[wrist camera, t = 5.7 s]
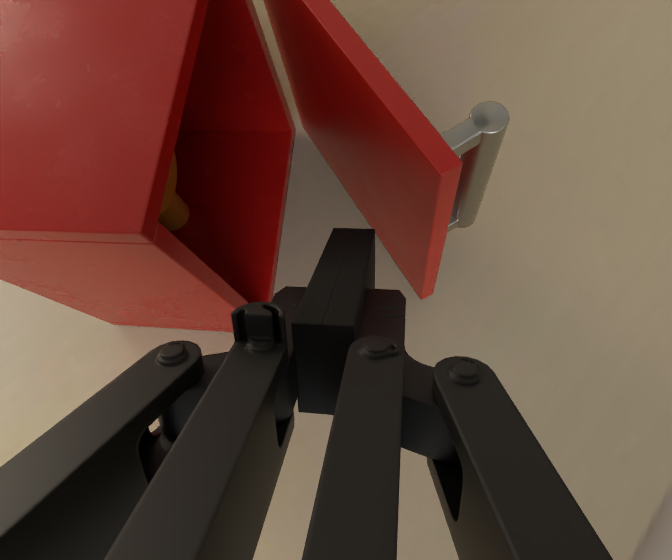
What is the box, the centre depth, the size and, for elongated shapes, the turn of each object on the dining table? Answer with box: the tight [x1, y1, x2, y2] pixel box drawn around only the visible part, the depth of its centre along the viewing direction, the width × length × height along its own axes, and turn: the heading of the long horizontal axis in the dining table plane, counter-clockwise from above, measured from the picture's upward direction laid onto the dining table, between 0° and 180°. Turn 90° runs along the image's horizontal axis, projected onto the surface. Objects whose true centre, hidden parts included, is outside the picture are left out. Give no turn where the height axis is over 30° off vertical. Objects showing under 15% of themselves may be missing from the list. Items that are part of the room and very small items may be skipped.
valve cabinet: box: [0, 0, 296, 332], centre depth 23 cm, size 10×14×14 cm
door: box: [264, 0, 509, 300], centre depth 22 cm, size 4×14×13 cm, turn 30°
